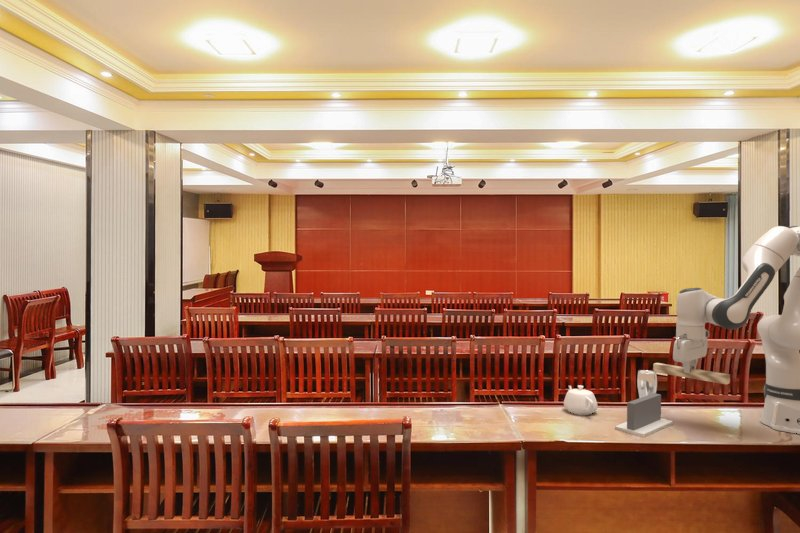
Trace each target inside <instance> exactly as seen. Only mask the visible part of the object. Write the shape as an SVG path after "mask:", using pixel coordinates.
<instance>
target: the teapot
mask: <svg viewBox="0 0 800 533" xmlns="http://www.w3.org/2000/svg"><path fill="white" fill-rule="evenodd" d="M583 388H584V385H581V384H580V385H579V384H578V385H577V388H572V385H568V390H567V392H566V394H565V397H564V398H563V399H564V400H563V406H564V408H565V409H566V410H567V411H568V413H570V412H571V414H573V413H574V415H577V414H578V415H577V416H590V415H589V414H591V415H593V414H594V413H595V412H596V411H597V410H598V406H599V405H598V401H597V399H596V397H595V394H594V393H593V392H592V391H591V390H588V389H583ZM592 413H593V414H592Z"/></svg>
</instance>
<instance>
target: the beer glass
mask: <svg viewBox="0 0 800 533" xmlns="http://www.w3.org/2000/svg"><path fill="white" fill-rule="evenodd" d="M657 375H658V373H657V372H653V370H650V369H649V370H648V369H646V370H645V369H639V370H638V371H637V380H636V382H637V390H638V397H639V398H642V397H645V396H647V395H650V394H653V393H656V394H657V390H658V389H657V388H658V378H657V377H658V376H657ZM639 398H638V399H639Z"/></svg>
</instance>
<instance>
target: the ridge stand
mask: <svg viewBox="0 0 800 533" xmlns="http://www.w3.org/2000/svg"><path fill="white" fill-rule="evenodd" d="M626 403H627V404H626V421H625V422H622V423H619V424H617V425H614V430H616V431H620V432H624V433H627V434H631V435H634V436H638V437H641V438H645V437H648V436H649V435H652V434H654V433H657V432H658V431H661V430H663V429H665V428H668V427H670V426H672V425H674V421H673V420H669V419H665V418H662V394H660V393H657V392H656V393H653V394H650V395H647V396H645V397H642V398H636V399H634V400H630V401H628V402H626Z"/></svg>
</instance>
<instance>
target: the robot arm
mask: <svg viewBox="0 0 800 533" xmlns="http://www.w3.org/2000/svg"><path fill="white" fill-rule="evenodd" d="M791 256H795V257H800V226H799V225H794V226H783V225H778V226H773V227H772V228H769V230H768V231H766V232H765V233H764V234H763V235H761V236H760V237H759V238H758V239H757V240H756V241H755V242H754V243H753V244H752V245H751V246H750V247H749V249H748V250H747V251H746V252H745V254H744V256H743V257H742V259H741V264H742V267H743V270H744V271H745V272H746V273H747V276H746V279H745V280H744V281H743V283H742V284H741V285H740V287H738V289H737V290H736V292H735V293H734V294H733V295H732V296H730V297H728V298H724V297H718V296H716V295H713V294H710V292H708V291H705V290H704V289H703V288H702V287H689V288H688V287H687V288H683V289H682V290H680V291H679V292H678V294H677V297H676V298H677V300H676V311H675V312H676V316H677V318H676V319H677V320H676V324H675V327H676V329H675V337H676V338H677V339H676V340H675V341H674V342H673V351H672V359H673V361H674V362H677V363H682V367H684V372H685V373H690V372H691V368H693V369H697V365H698V361H699V360H698V359H700V358H704V357H706V356H707V354H708V338H709V337H710V332H709V330H707V329H706V328H705V327H706V323H709V324H712V325H715V326H719V327H721V328H723V329H726V330H738V329H740V328H742V327H744V326H745V325H746V324H747V323H748V321H749V318H750V315H751V312H752V310H753V307H754V306H755V305H756V303H757V302H758V301H759V299H760V298H761V296H762V295H763V294H764V292H765V291H766V289H768V287H769V286H770V284H771V283H772V281H773V280H774V277H775V275H776V274H777V272H778V271H779V270H780V269H781V268H782V267H783V266H784V264H785V263H786V262H787V261H788V260H789V259H790V257H791ZM783 300H784V304H783V309H782V312H781V314H771V315H766V316H764V317H762V318H761V319H760V320H759V321H758V322H757V325H756V326H757V327H756V330H757V332H758V335H759V336H760V339H761V344H762V349H763V353H764V357H765V377H766V378H765V383H764V386H763V395H764V404H763V405H764V406H763V410H762V414H761V417H760V419H759V421H760V423H762V424H763V425H766V426H768V427H770V428H771V429H773V430H775V431H780V432H786V433H791V434H796V433H797V435H800V267H798V270H797V271H796V272H795V274H794V276H793V278H792V280H791V281H790V283H789V285H788V287H787V288H786V291H785V292H784V294H783Z"/></svg>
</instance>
